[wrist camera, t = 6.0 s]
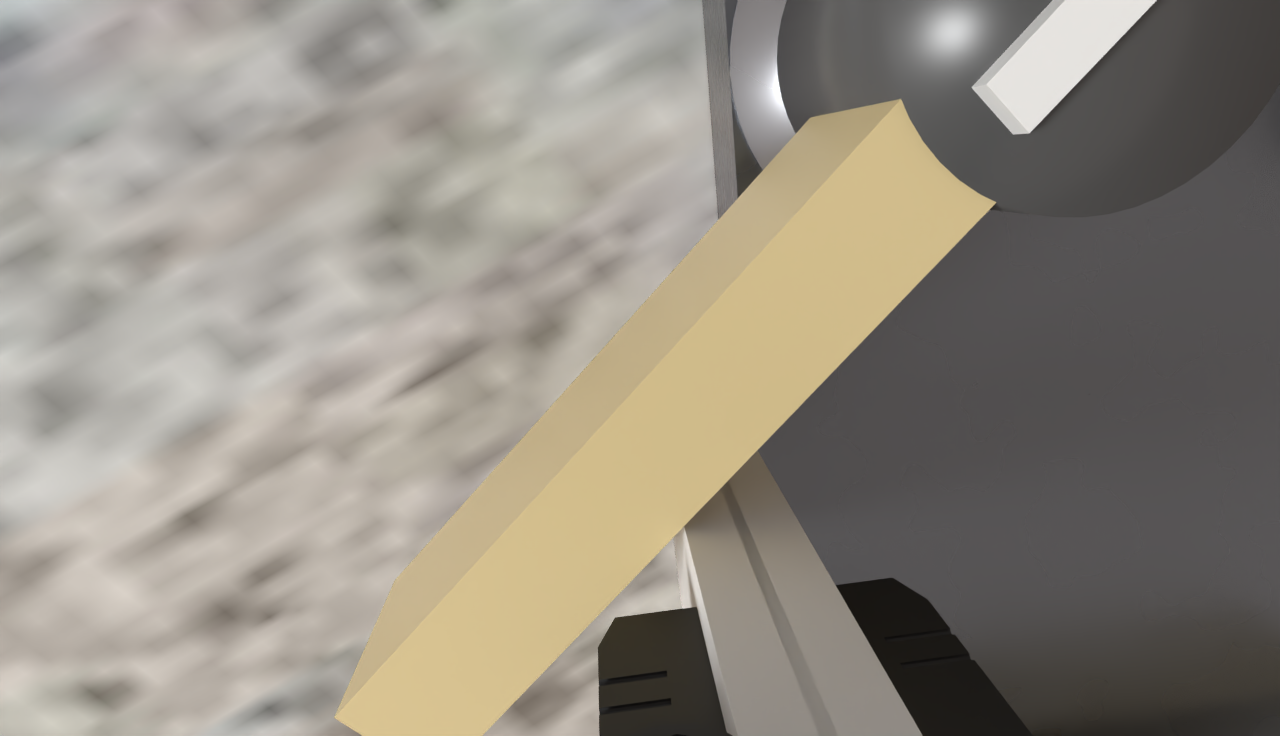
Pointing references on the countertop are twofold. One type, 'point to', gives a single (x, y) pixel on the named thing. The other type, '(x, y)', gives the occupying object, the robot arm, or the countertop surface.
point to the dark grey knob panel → (1058, 434)
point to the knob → (802, 297)
